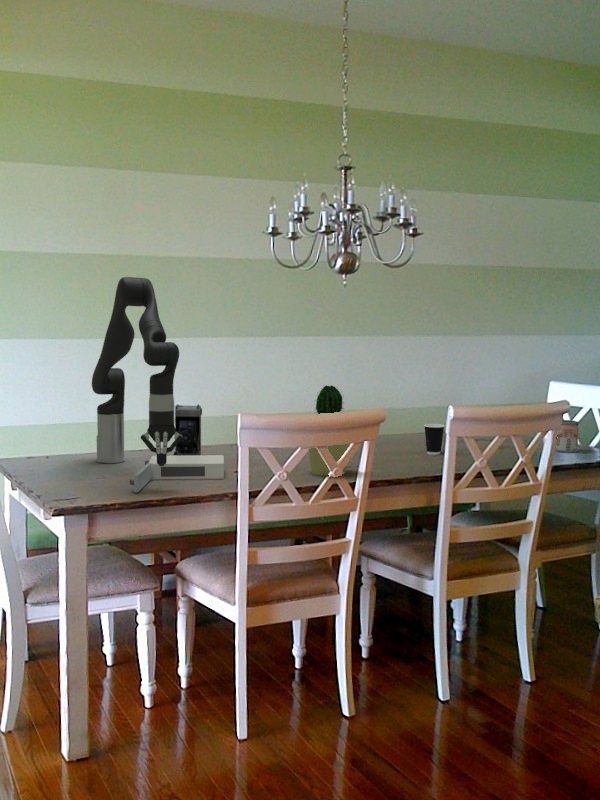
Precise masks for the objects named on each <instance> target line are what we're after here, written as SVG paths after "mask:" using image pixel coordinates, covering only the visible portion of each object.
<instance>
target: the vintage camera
mask: <svg viewBox="0 0 600 800" xmlns="http://www.w3.org/2000/svg"><path fill="white" fill-rule="evenodd" d="M174 406H175V407H174V426H175V428H176V432H177V433H179V434H181V435H182V439H181V440H180V442H179V443H178V444H177V445H176V447H175V448H174V449H175V451H173V454H172V456H185V455H202V415H203V408H202V406H201V405H200V404H196V405H182V404H181V405H180V404H176V405H174Z"/></svg>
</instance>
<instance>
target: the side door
mask: <svg viewBox="0 0 600 800" xmlns="http://www.w3.org/2000/svg"><path fill="white" fill-rule="evenodd" d="M151 479H153V463H149V464H146V465H145V464H144V466H142V468H140V470H138V471H137V472H136V473H135V474H134V475H133V479H129V485H130V486H133V492H134V493H139V492H140V491H141V490H142V489H143V488H144V487H145V486H146V485H147V484H148V483H149V482H150V481H151ZM153 480H154V479H153Z"/></svg>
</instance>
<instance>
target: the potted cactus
mask: <svg viewBox="0 0 600 800" xmlns="http://www.w3.org/2000/svg"><path fill="white" fill-rule="evenodd" d="M316 397H317V398H316V401H315V402H316V403H315V411H316V413H315V414H317V415H318V414H320V413H334V412H340V413H341V412H343V410H345V408H344V407H343V404H345V402H343V398H344V395H343V394H342V393H341V392H340V390H339V389H338V388H337V387H336V386H335V385H333V384H332V385H331V384H330V385H323V387H322V388H321V390H319V392H318V394H317V396H316ZM348 447H349V448H350V445H349V444H345V445H333V446H328V450H329V452H330V453H331V454H332V456H333V458H334V459H335V461H338V460H339V459H340V458H341V456H342V455H343V454H344V452H345V451H346V450H347V448H348ZM308 454H309V456H308V457H309V461H310V462H309V463H310V471H311V474H313V475H317V476H323V477H328V476H327V475H328V473H329V469H328V467H327V465H326V464H325V462H324V461H323V459H322V458H321V456H320V454H319V453H318V450H317V449H316V448H311V449H308ZM346 468H347V466H346V467H345V468H344V469H343V472H345V473H346V470H347V469H346Z"/></svg>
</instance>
